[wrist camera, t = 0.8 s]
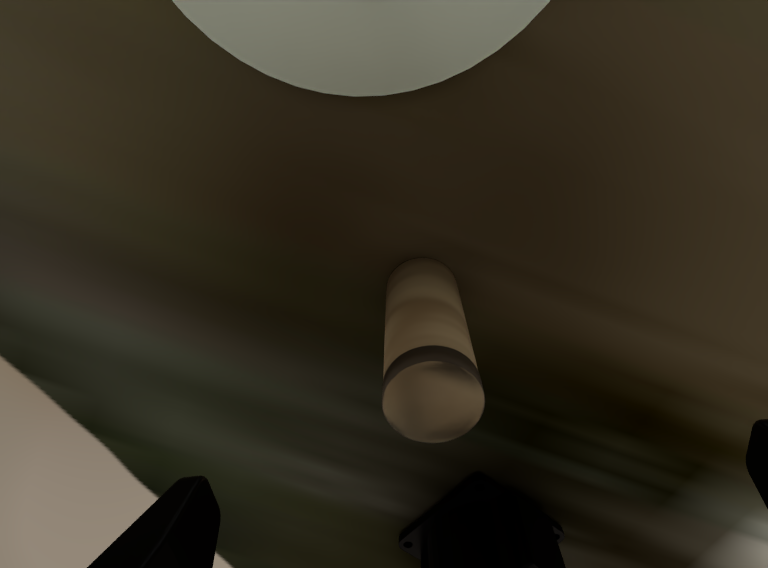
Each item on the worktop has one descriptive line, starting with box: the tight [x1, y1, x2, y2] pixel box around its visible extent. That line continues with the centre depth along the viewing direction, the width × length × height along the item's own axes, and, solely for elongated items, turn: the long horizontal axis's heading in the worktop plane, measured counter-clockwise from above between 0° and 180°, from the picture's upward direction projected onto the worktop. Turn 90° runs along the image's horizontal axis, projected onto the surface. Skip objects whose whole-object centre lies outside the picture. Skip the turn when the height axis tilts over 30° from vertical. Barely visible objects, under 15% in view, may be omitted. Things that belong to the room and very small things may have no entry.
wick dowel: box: [382, 258, 485, 443], centre depth 19 cm, size 3×3×8 cm
